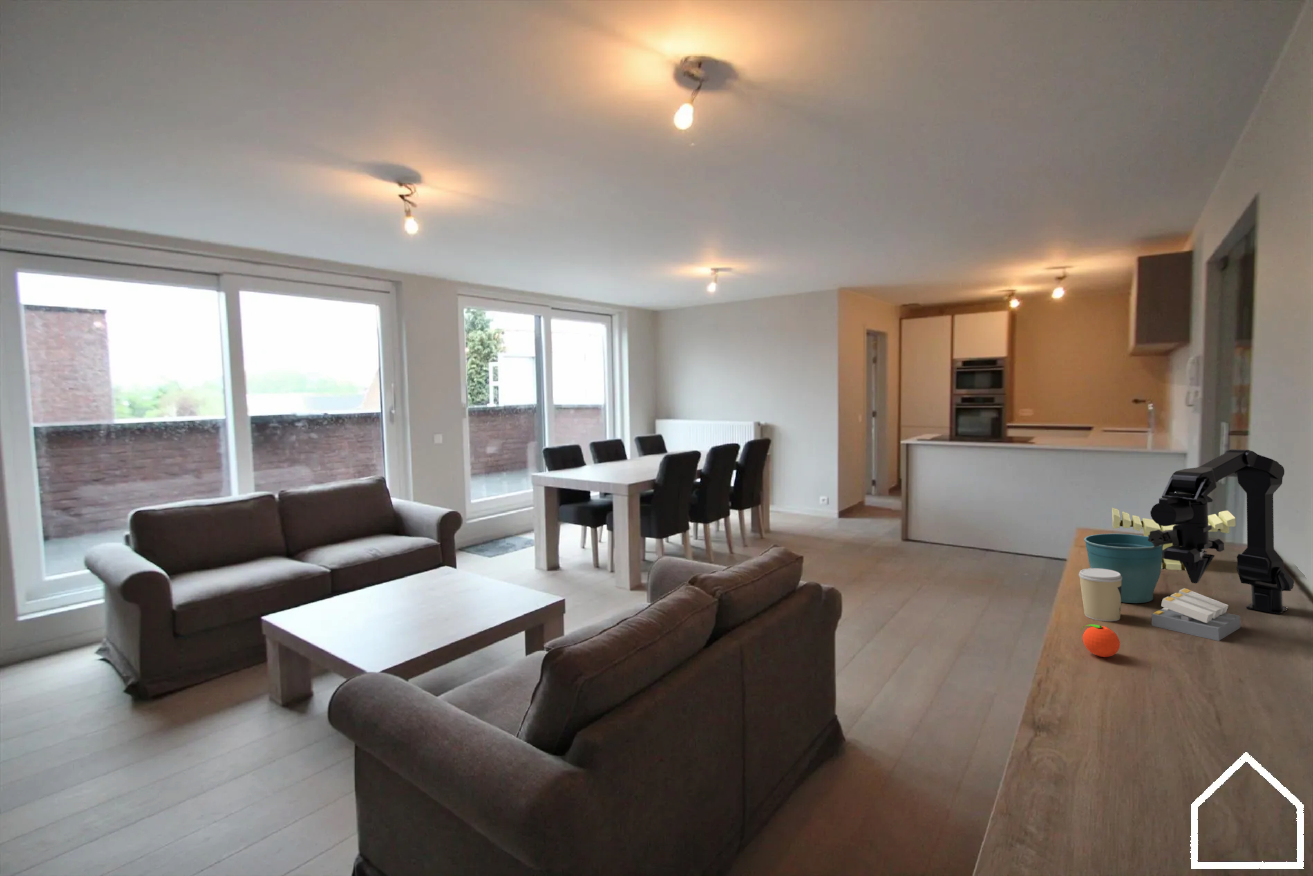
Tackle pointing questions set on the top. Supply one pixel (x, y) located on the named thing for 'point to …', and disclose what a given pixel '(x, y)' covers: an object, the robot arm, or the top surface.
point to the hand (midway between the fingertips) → (1194, 583)
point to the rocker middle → (1198, 604)
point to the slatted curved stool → (1149, 525)
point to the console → (1196, 624)
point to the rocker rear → (1204, 599)
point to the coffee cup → (1101, 593)
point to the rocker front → (1187, 609)
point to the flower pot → (1128, 562)
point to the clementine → (1101, 640)
